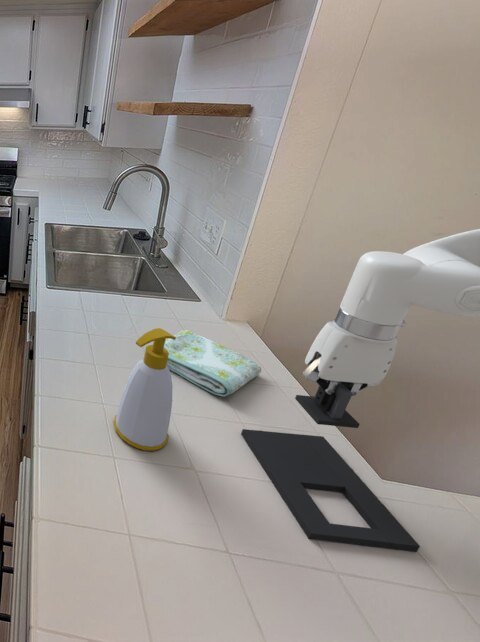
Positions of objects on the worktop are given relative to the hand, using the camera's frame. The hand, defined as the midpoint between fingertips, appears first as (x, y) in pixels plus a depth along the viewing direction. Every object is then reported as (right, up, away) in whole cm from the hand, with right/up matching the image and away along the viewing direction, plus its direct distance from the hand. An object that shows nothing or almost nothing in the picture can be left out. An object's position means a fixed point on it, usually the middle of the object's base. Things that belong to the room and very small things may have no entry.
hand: (327, 406), depth 72 cm
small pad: (0, -2, +1) cm, 2 cm away
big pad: (-1, -16, +1) cm, 16 cm away
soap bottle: (-30, -11, +14) cm, 34 cm away
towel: (-3, -2, +33) cm, 34 cm away
